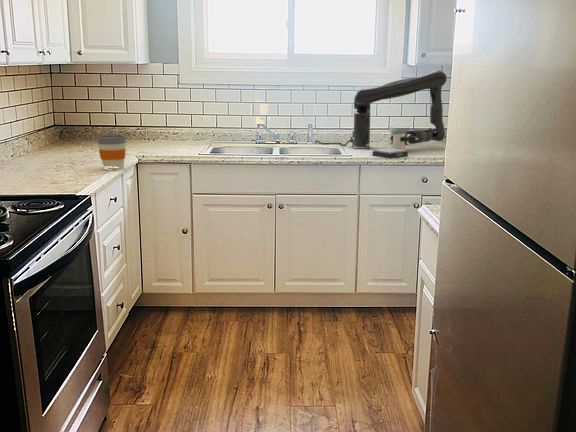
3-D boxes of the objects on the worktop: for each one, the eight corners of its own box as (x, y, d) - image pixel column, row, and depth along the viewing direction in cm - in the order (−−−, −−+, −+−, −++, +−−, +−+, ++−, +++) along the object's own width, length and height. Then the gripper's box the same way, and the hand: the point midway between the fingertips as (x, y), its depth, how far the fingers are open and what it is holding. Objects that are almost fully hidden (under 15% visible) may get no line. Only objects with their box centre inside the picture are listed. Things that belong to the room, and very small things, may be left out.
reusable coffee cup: (104, 166, 295) (102, 135, 291) (130, 166, 294) (128, 135, 291) (95, 171, 283) (93, 138, 279) (123, 171, 282) (120, 138, 278)
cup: (390, 151, 338) (390, 134, 335) (398, 150, 341) (398, 133, 339) (398, 152, 333) (399, 135, 330) (406, 151, 336) (407, 134, 334)
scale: (372, 155, 326) (372, 149, 325) (389, 153, 334) (389, 147, 333) (390, 158, 316) (391, 152, 315) (408, 156, 323) (408, 150, 323)
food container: (386, 144, 370) (386, 127, 368) (389, 143, 376) (390, 126, 373) (406, 145, 365) (406, 128, 363) (409, 144, 370) (409, 127, 368)
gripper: (407, 128, 348) (386, 130, 339) (427, 130, 337) (406, 133, 327) (406, 142, 350) (385, 144, 340) (426, 144, 339) (405, 147, 329)
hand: (396, 138), depth 334 cm, fingers closed on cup, 6 cm apart
